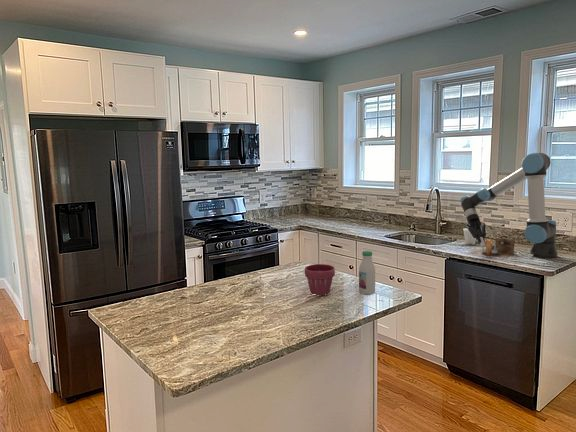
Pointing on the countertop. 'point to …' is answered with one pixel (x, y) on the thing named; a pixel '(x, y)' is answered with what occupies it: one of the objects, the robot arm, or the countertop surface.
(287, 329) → the countertop surface
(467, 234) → the cup
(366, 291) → the milk bottle
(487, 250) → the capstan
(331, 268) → the plant pot
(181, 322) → the countertop surface
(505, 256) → the stand
